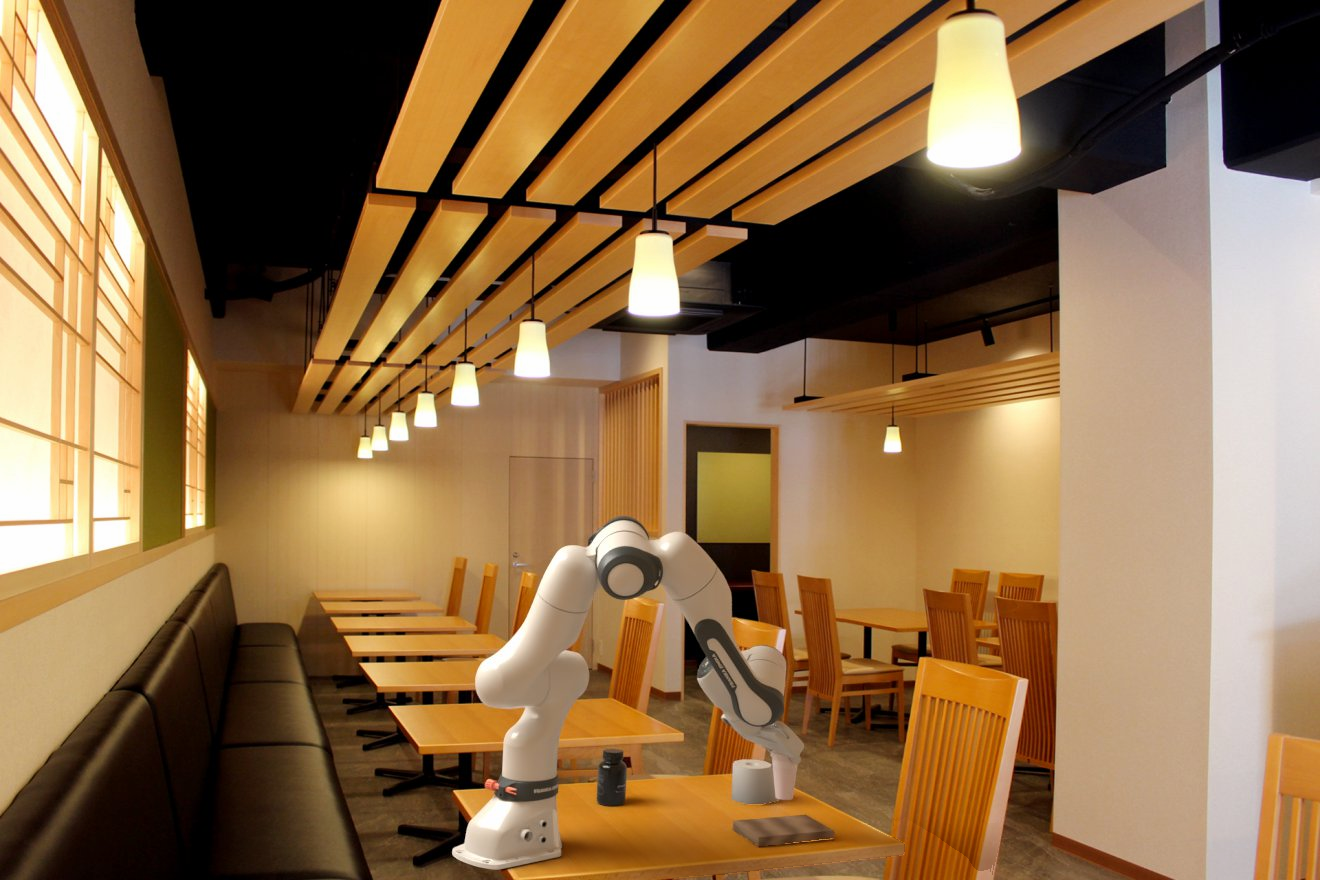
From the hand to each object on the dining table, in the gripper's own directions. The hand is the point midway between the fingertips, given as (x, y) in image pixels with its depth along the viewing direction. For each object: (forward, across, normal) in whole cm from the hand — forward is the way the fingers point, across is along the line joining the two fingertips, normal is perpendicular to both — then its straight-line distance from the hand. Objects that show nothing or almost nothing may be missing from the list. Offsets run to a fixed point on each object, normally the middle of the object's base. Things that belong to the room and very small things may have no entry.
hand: (787, 757), depth 228 cm
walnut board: (+11, 0, +12) cm, 16 cm away
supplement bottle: (-6, +36, +29) cm, 46 cm away
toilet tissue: (+18, +26, +5) cm, 32 cm away
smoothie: (+6, 0, +6) cm, 9 cm away
